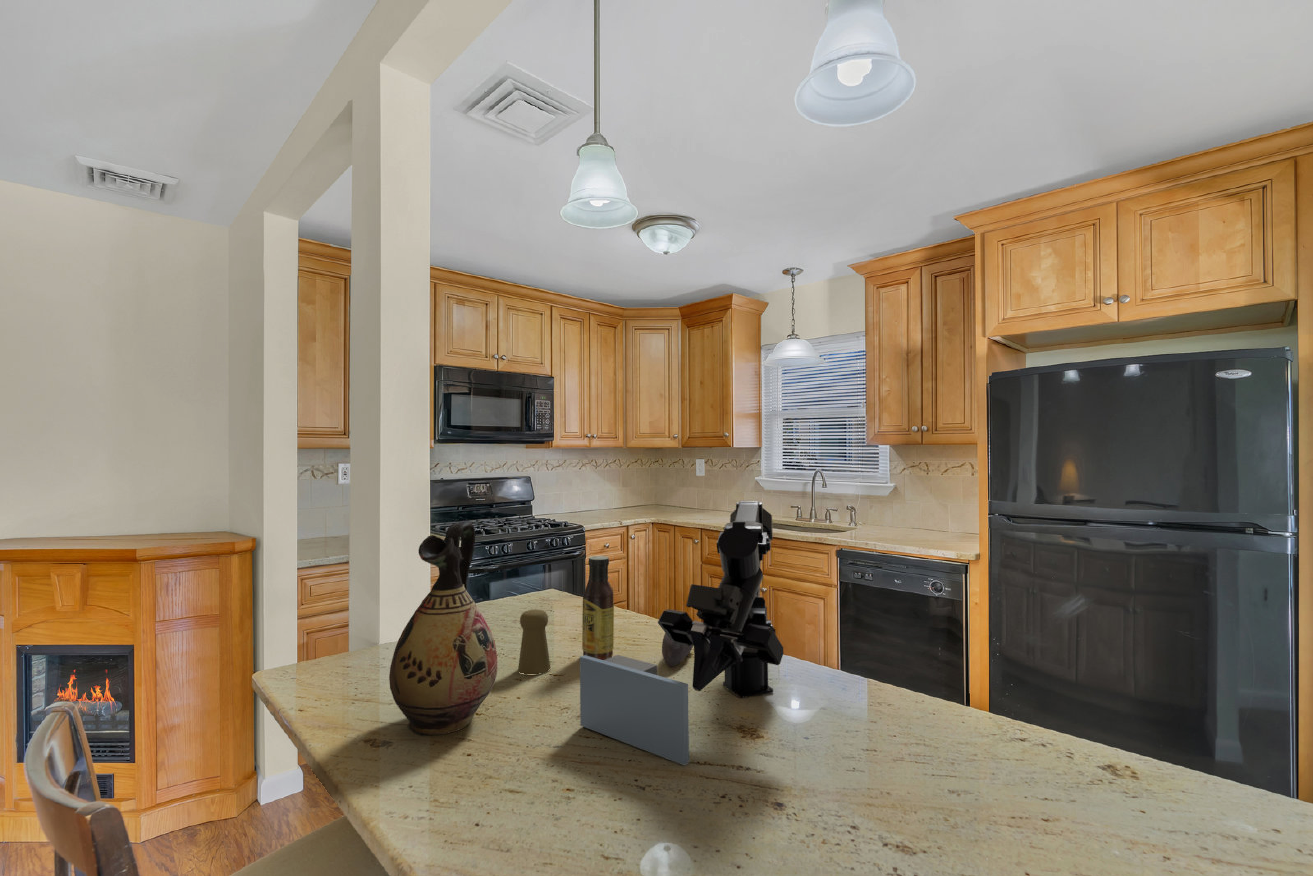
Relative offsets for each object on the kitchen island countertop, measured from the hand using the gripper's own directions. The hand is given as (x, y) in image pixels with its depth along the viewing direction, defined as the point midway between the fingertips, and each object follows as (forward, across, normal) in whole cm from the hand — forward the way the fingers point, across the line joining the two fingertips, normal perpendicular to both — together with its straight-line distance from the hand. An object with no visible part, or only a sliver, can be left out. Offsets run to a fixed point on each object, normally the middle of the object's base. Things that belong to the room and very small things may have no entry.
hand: (696, 689), depth 85 cm
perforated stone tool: (-14, -23, +24) cm, 36 cm away
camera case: (+6, -13, +4) cm, 15 cm away
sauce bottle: (-8, -36, +18) cm, 41 cm away
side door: (+9, -7, +1) cm, 12 cm away
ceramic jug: (+17, -35, -6) cm, 39 cm away
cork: (+1, -41, +10) cm, 42 cm away
